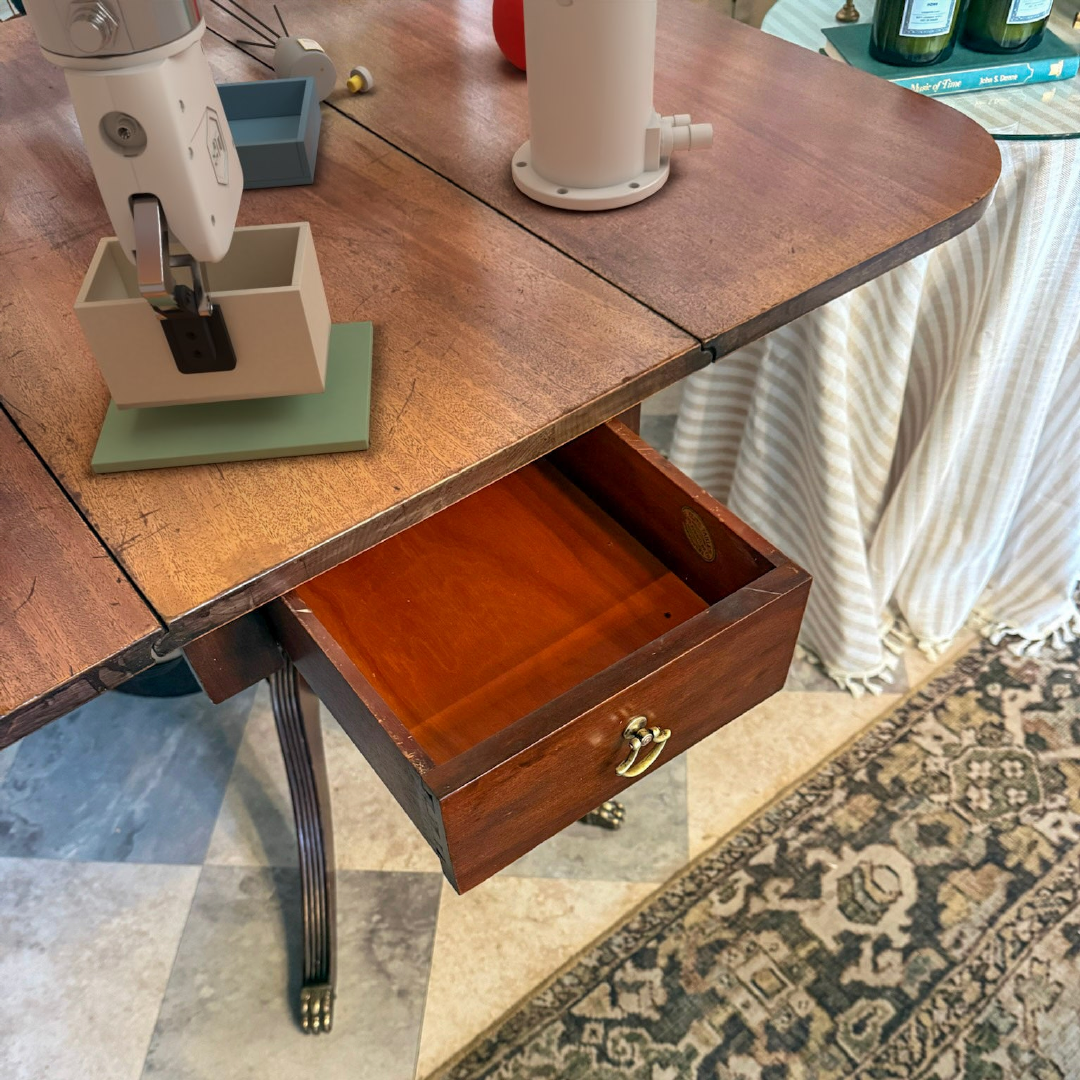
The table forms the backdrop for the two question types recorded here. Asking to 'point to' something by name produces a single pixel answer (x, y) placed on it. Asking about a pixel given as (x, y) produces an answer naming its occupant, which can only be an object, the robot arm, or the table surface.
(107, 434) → the mat
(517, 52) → the fruit
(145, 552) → the table surface
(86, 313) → the cream bin
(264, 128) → the blue tote
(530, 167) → the robot arm
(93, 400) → the table surface
